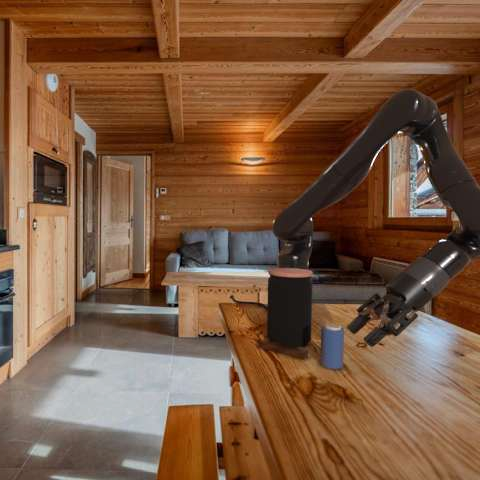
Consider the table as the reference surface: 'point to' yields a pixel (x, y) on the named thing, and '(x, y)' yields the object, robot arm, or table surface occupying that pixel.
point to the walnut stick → (283, 349)
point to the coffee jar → (289, 306)
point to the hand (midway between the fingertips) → (358, 336)
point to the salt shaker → (332, 346)
